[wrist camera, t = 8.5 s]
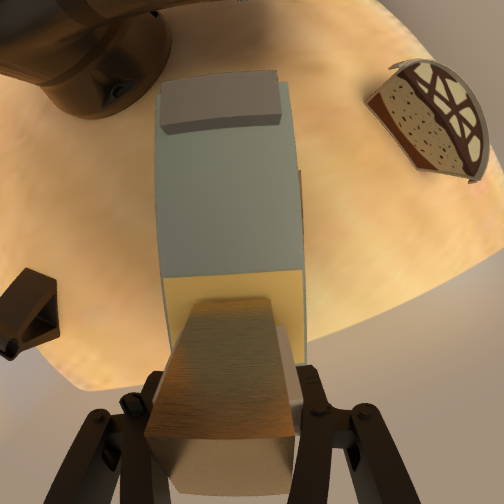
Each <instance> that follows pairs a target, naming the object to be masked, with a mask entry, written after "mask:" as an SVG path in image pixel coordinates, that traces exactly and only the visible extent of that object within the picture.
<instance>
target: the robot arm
mask: <svg viewBox="0 0 504 504" xmlns="http://www.w3.org/2000/svg"><path fill="white" fill-rule="evenodd" d="M208 1H219V0H0V74H2V75H5V76H9V77H12V78H16V79H19V80H22V81H25V82H28V83H32V84H35V85H38V86H40V87H41V89H42V90H43V91H44V92H45V93H46V94H47V96H48V97H49V98H50V99H51V100H52V101H53V103H54V104H55V105H56V106H57V107H58V108H59V109H61V110H62V111H64V112H65V113H67V114H70V115H73V116H77V117H80V118H85V119H98V118H103V117H107V116H110V115H112V114H115V113H117V112H119V111H121V110H123V109H125V108H126V107H128V106H130V105H131V104H132V103H134V102H135V101H136V100H138V99H139V98H140V97H141V96H142V95H143V94H144V93H145V92H146V91H147V90H148V89H149V88H150V87H151V86H152V85H153V83H154V82H155V81H156V80H157V78H158V77H159V75H160V74H161V72H162V70H163V68H164V66H165V64H166V62H167V59H168V57H169V53H170V49H171V33H170V29H169V27H168V25H167V23H166V21H165V19H164V18H163V16H162V14H161V13H160V12H159V11H158V10H161V9H165V8H170V7H175V6H180V5H186V4H192V3H199V2H208ZM237 1H248V0H237ZM276 331H277V337H278V342H279V348H280V353H281V359H282V364H283V370H284V375H285V381H286V387H287V392H288V398H289V404H290V409H291V415H292V421H293V426H294V432H295V436H300V441H299V447H298V454H297V458H296V464H295V469H294V474H293V479H292V484H291V488H290V493H289V498H288V502H287V504H327V498H328V489H329V479H330V468H331V456H332V448H343V450H344V454H345V457H346V461H347V464H348V467H349V471H350V474H351V478H352V482H353V485H354V488H355V492H356V496H357V499H358V503H359V504H421V502H420V500H419V498H418V495H417V493H416V490H415V488H414V486H413V483H412V481H411V479H410V476H409V474H408V472H407V470H406V468H405V465H404V463H403V461H402V458H401V456H400V454H399V452H398V450H397V448H396V445H395V443H394V441H393V439H392V437H391V434H390V433H389V430H388V428H387V426H386V424H385V422H384V420H383V418H382V416H381V414H380V411H379V410H378V408H377V407H376V406H374V405H372V404H369V403H361V404H358V405H356V406H355V407H354V408H353V409H352V410H342V409H337V408H334V407H333V406H332V405H331V404H330V403H328V401H327V398H326V395H325V392H324V389H323V386H322V383H321V380H320V378H319V374H318V372H317V369H315V368H314V367H313V366H312V365H304V366H295V362H294V358H293V354H292V350H291V346H290V342H289V338H288V334H287V330H286V326H285V325H282V326H276ZM182 332H183V330H181V331H180V333H179V335H178V338H177V340H176V343H175V345H174V347H173V350H172V352H171V355H170V357H169V360H168V362H167V365H166V367H165V370H164V371H153V372H152V373H151V374H150V375H149V376H148V378H147V380H146V382H145V384H144V386H143V389H142V391H141V393H136V392H132V393H128V394H126V395H124V396H123V397H122V398H121V399H120V401H119V403H120V405H121V407H122V409H123V411H124V414H117V415H110V413H109V412H108V411H107V410H105V409H95V410H93V411H91V412H90V413H89V414H88V416H87V418H86V419H85V421H84V423H83V425H82V426H81V428H80V430H79V432H78V434H77V436H76V438H75V440H74V441H73V443H72V445H71V447H70V449H69V451H68V453H67V455H66V457H65V459H64V461H63V463H62V465H61V467H60V469H59V471H58V473H57V475H56V477H55V479H54V481H53V483H52V485H51V488H50V490H49V492H48V494H47V496H46V499H45V501H44V503H43V504H110V503H111V500H112V496H113V493H114V490H115V487H116V484H117V481H118V478H119V475H120V504H171V499H170V491H169V484H168V476H167V474H166V472H165V471H164V469H163V468H162V466H161V464H160V463H159V461H158V459H157V458H156V456H155V454H154V452H153V451H152V449H151V447H150V445H149V443H148V442H147V440H146V438H145V436H144V432H145V429H146V426H147V423H148V420H149V418H150V415H151V412H152V409H153V407H154V404H155V401H156V399H157V396H158V393H159V391H160V388H161V385H162V383H163V380H164V377H165V375H166V372H167V370H168V367H169V364H170V362H171V359H172V357H173V354H174V352H175V349H176V347H177V344H178V342H179V339H180V337H181V334H182Z"/></svg>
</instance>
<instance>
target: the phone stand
mask: <svg viewBox="0 0 504 504" xmlns="http://www.w3.org/2000/svg"><path fill="white" fill-rule="evenodd" d="M57 308H58V306H57V283H56V280H54V279H51V278H49V277H46V276H44V275H41V274H39V273H37V272H34V271H32V270H30V269H27V268H25V269H24V270H23V271H22V272H21V273H20V274H19V276H18V277H17V278H16V279H15V280H14V281H13V282H12V284H11V285H10V286H9V287H8V288H7V290H6V291H5V292H4V293H3V295H2V296H1V297H0V355H1V356H2V357H4V358H5V359H7V360H8V361H12V360H14V359H15V358H16V357H17V355H18V354H19V353H20V352H22V351H24V350H27V349H30V348H32V347H35V346H38V345H40V344H43V343H46V342H48V341H51V340H54V339H56V338H59V337H60V330H59V319H58V311H57Z"/></svg>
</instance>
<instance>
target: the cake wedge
mask: <svg viewBox="0 0 504 504" xmlns="http://www.w3.org/2000/svg"><path fill="white" fill-rule="evenodd" d="M395 68H399V70H398V71H397V72H396V73H395V74H394V75H392V76H391V77H390V78H389V79H388V80H387V81H386V82H385V83H384V84H383V85H382V86H381V87H380V88H379V89H378V90H377V91H376V92H375V93H374V94H373V95H372V96H371V97H370V98H369V99H368V100H367V101H366V102H365V103H364V104H365V105H366V106H367V107H368V108H369V109H370V110H371V112H372V113H373V114H374V115H375V116H376V117H377V119H378V120H379V121H380V122H381V123H382V125H383V126H384V127H385V128H386V129H387V131H388V132H389V133H390V134H391V136H392V137H393V138H394V140H395V141H396V142H397V144H398V145H399V146H400V148H401V149H402V150H403V152H404V153H405V154H406V156H407V157H408V158H409V160H410V161H411V163H412V164H413V166H414V167H415V168H416V170H422V171H429V172H435V173H441V174H447V175H452V176H457V177H462V178H467V179H469V181H468V184H471V183H477V182H478V181H481V179H482V177H483V176H484V173H485V171H486V168H487V165H488V161H489V154H490V136H489V129H488V125H487V120H486V117H485V114H484V111H483V109H482V106H481V104H480V102H479V100H478V98H477V97H476V95H475V93H474V92H473V90H472V89H471V87H470V86H469V85H468V84H467V83H466V81H465V80H464V79H463V78H462V77H461V76H460V75H458V73H456V72H455V71H454V70H452V69H451V68H450V67H448V66H446V65H444V64H442V63H440V62H437V61H434V60H428V59H420V58H419V59H411V60H406V61H402V62H399V63H396V64H394V65H392V66H391V67H389V68H388V69H389V70H390V69H395Z"/></svg>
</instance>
